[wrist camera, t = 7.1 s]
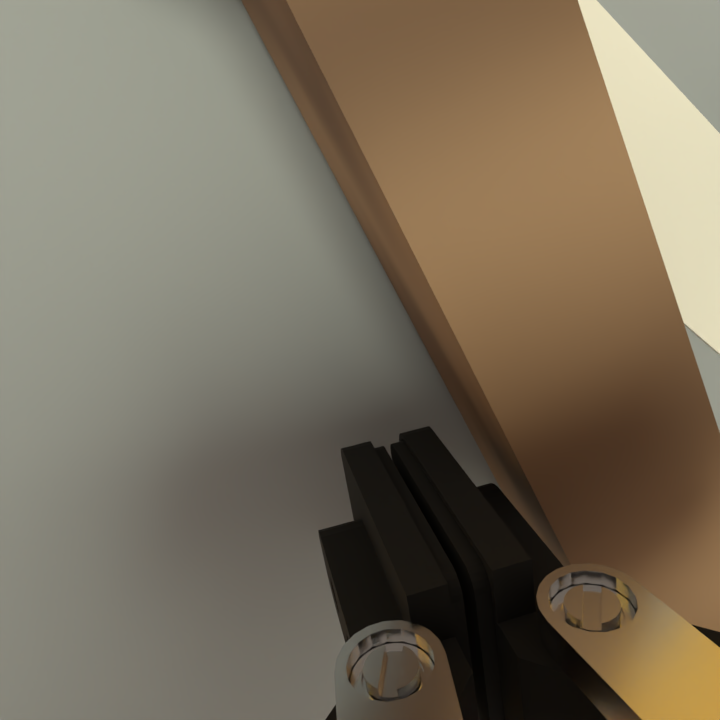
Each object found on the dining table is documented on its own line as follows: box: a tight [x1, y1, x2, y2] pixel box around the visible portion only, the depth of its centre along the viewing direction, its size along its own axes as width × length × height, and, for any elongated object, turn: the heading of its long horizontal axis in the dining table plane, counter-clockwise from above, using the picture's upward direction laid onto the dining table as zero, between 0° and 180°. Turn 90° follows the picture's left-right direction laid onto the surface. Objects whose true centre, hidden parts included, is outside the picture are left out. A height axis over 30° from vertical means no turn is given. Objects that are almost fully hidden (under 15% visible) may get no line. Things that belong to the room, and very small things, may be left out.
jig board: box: [0, 0, 720, 720], centre depth 11 cm, size 24×23×6 cm
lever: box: [241, 0, 720, 632], centre depth 10 cm, size 20×5×3 cm, turn 29°
